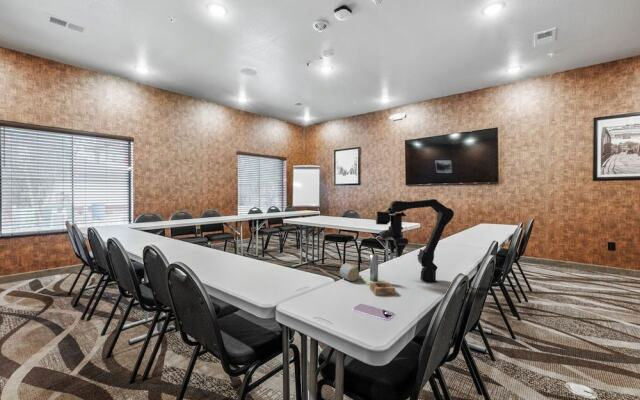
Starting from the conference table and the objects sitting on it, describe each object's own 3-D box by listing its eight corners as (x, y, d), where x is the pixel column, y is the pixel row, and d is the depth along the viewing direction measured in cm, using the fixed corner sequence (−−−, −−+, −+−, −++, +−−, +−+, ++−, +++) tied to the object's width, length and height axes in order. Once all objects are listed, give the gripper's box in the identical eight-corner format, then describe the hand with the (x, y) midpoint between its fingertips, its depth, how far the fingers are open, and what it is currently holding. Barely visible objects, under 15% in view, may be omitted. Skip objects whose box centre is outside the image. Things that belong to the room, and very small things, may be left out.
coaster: (379, 278, 153) (379, 277, 153) (386, 284, 143) (386, 283, 143) (361, 278, 152) (361, 277, 151) (366, 284, 142) (367, 283, 142)
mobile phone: (360, 302, 117) (396, 312, 108) (360, 305, 117) (395, 314, 108) (350, 308, 111) (387, 319, 102) (350, 311, 111) (387, 322, 102)
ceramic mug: (348, 282, 144) (349, 267, 144) (339, 278, 151) (339, 263, 151) (365, 280, 149) (365, 265, 149) (355, 276, 156) (355, 262, 156)
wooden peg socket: (387, 288, 137) (387, 281, 137) (394, 294, 128) (394, 288, 128) (369, 288, 136) (369, 282, 136) (375, 295, 127) (375, 288, 127)
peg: (378, 279, 148) (378, 254, 148) (377, 282, 145) (377, 256, 144) (370, 279, 150) (370, 254, 149) (369, 281, 146) (369, 255, 146)
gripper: (375, 222, 158) (375, 251, 159) (386, 227, 140) (385, 259, 140) (395, 222, 159) (394, 251, 160) (409, 227, 141) (408, 259, 141)
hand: (395, 254), depth 150 cm, fingers open, 9 cm apart
